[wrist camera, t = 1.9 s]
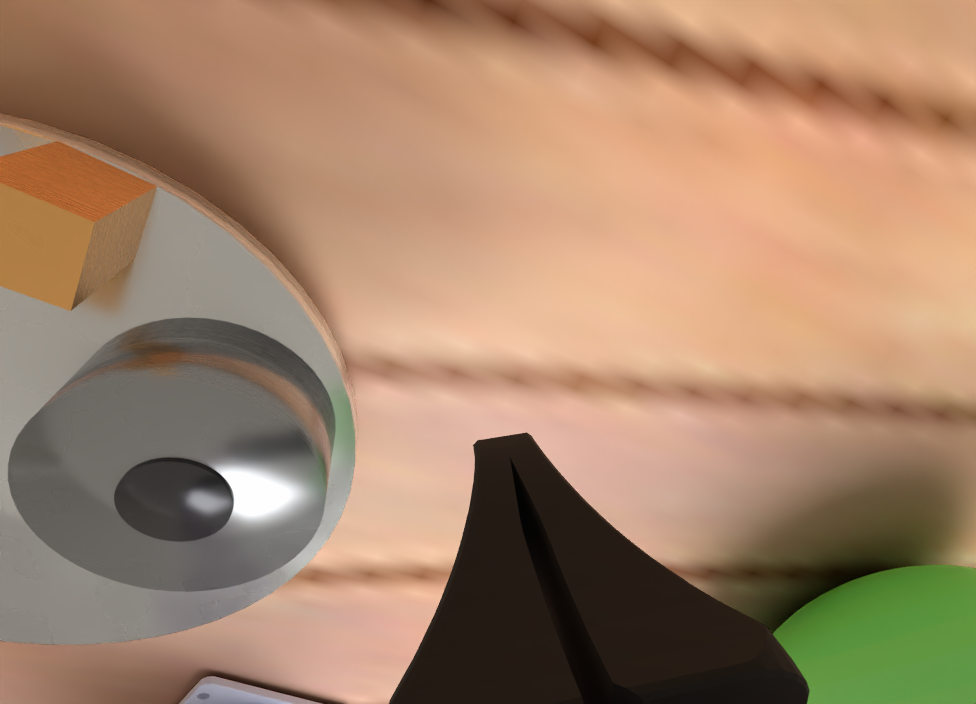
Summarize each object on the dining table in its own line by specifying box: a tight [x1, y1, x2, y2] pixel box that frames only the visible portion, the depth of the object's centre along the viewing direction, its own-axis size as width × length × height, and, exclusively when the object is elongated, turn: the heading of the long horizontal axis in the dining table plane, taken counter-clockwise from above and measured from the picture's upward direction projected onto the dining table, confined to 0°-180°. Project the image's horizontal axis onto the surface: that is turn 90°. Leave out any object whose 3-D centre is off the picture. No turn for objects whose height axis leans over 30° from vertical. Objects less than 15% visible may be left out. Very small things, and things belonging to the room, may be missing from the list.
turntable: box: [0, 114, 357, 645], centre depth 14 cm, size 18×18×4 cm
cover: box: [8, 317, 336, 592], centre depth 14 cm, size 7×7×3 cm
